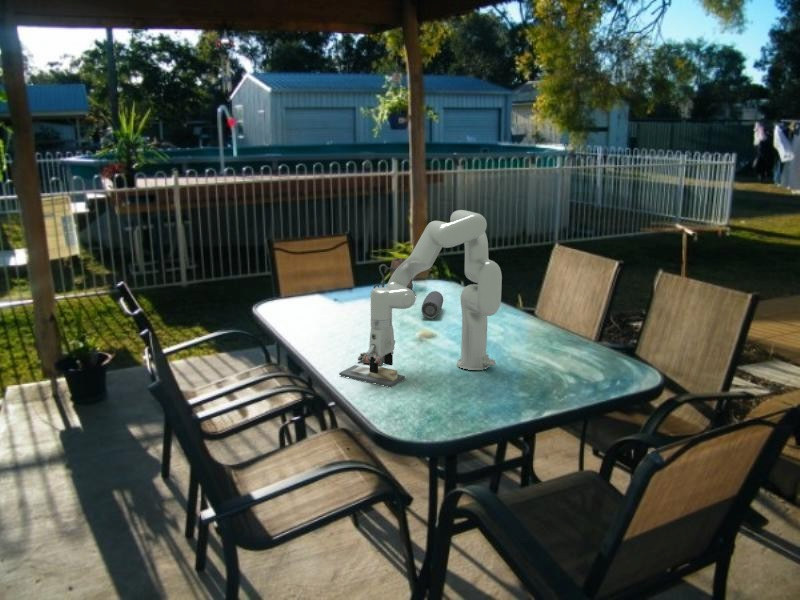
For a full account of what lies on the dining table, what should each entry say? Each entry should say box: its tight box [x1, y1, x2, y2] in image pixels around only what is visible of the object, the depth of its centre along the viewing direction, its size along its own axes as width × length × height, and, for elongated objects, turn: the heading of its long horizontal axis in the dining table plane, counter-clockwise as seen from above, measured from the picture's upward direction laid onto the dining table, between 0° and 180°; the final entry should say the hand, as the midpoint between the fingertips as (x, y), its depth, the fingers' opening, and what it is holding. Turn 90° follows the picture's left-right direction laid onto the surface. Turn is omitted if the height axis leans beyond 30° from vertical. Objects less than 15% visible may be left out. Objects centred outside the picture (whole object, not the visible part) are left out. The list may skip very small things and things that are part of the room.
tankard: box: [373, 257, 417, 297], centre depth 363 cm, size 24×17×20 cm
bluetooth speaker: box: [421, 290, 444, 319], centre depth 326 cm, size 23×9×10 cm, turn 171°
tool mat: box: [338, 364, 406, 388], centre depth 243 cm, size 22×10×1 cm, turn 59°
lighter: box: [357, 352, 384, 366], centre depth 259 cm, size 8×3×10 cm
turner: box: [351, 365, 398, 381], centre depth 242 cm, size 17×6×3 cm, turn 60°
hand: (381, 368), depth 240 cm, fingers open, 9 cm apart
